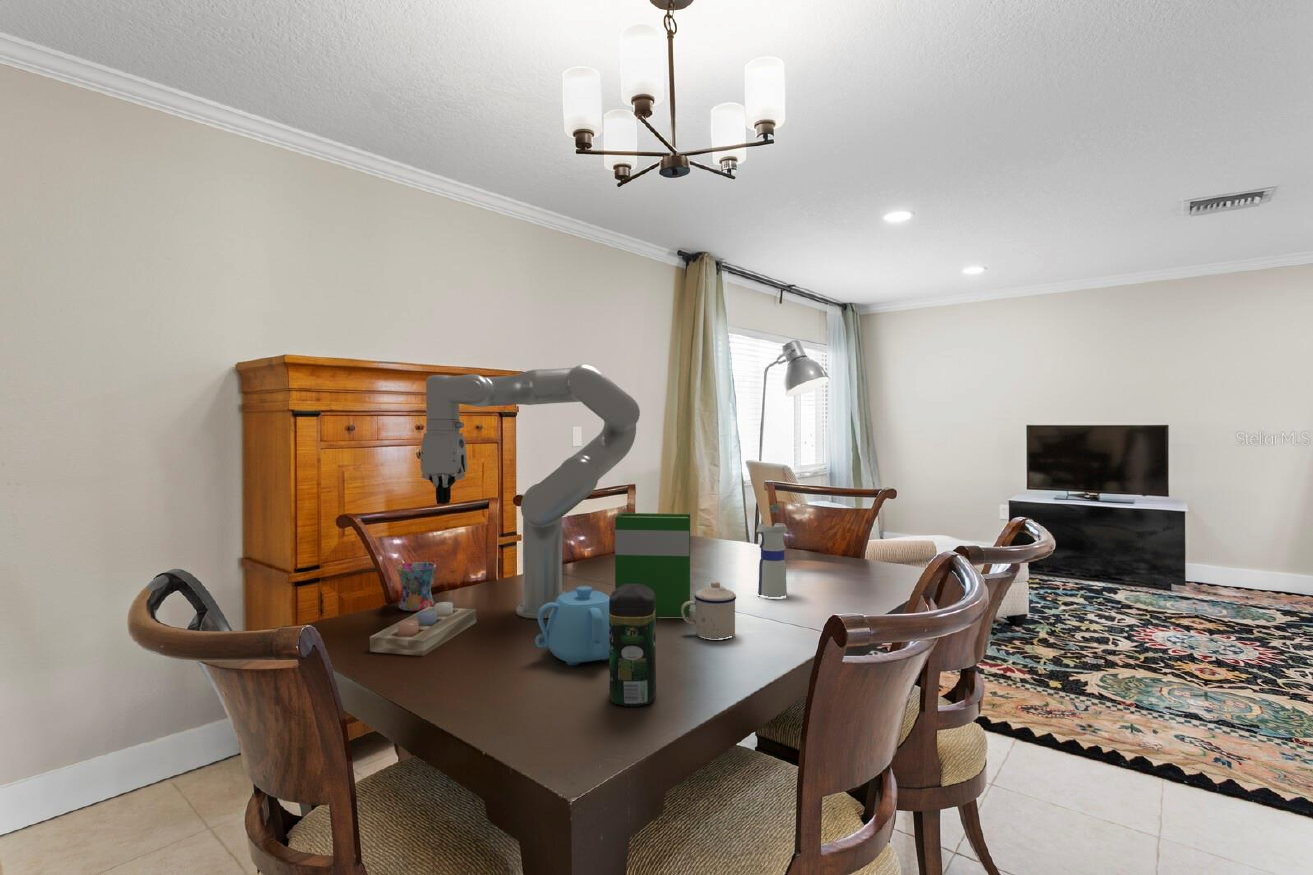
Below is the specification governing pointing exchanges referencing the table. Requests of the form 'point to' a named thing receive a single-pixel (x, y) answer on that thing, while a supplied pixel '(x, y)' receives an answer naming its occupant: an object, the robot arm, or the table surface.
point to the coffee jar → (632, 645)
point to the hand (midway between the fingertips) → (443, 503)
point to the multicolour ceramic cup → (416, 585)
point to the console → (423, 634)
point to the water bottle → (772, 559)
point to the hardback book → (655, 557)
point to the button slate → (426, 618)
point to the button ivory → (443, 609)
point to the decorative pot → (577, 626)
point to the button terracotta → (408, 628)
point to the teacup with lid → (713, 612)
